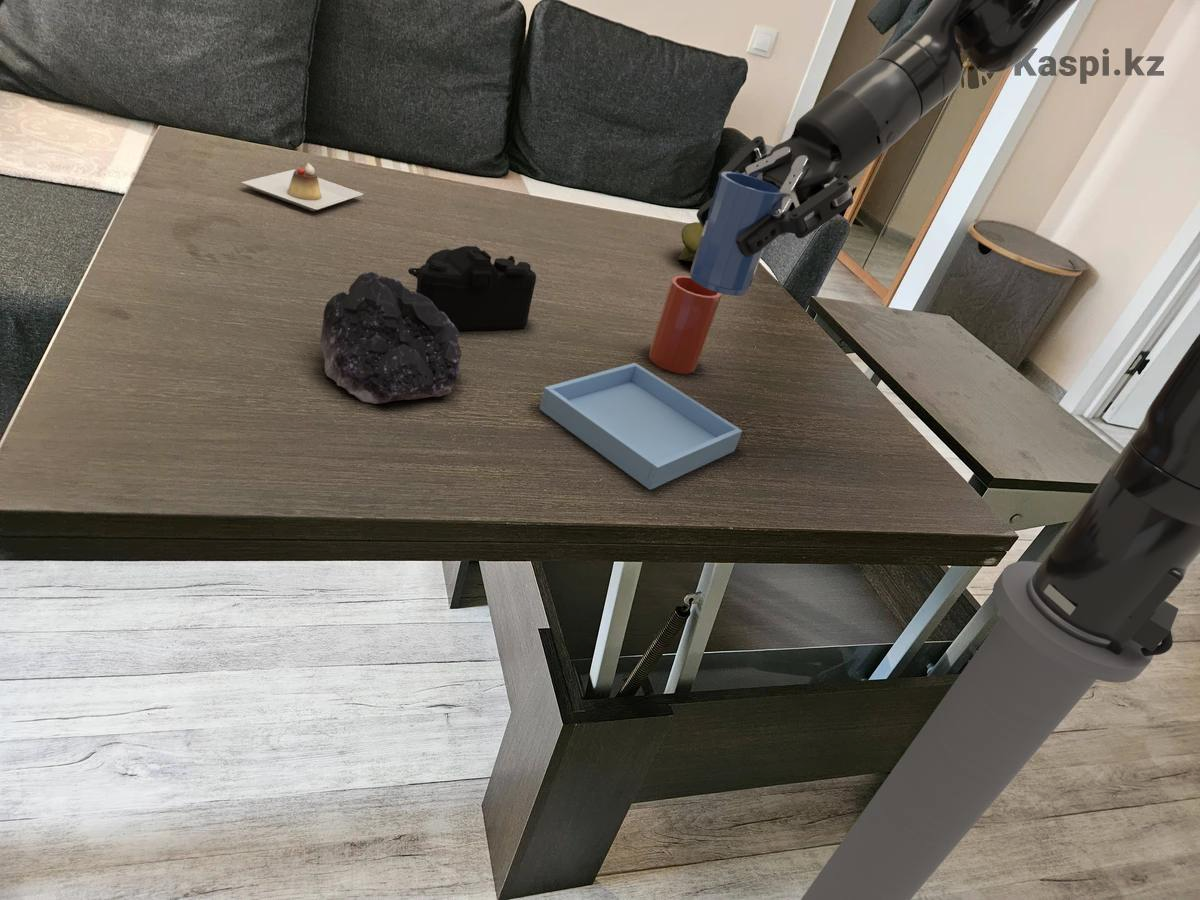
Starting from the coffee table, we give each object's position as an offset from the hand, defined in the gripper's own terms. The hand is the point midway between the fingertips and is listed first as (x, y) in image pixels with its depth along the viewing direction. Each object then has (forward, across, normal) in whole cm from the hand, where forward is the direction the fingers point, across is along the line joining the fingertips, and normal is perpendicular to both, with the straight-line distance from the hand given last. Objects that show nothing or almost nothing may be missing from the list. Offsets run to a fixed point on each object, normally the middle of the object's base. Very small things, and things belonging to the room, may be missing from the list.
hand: (720, 235), depth 75 cm
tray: (+17, +3, +11) cm, 21 cm away
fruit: (-11, -44, +39) cm, 60 cm away
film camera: (+24, -24, +4) cm, 34 cm away
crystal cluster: (+33, -10, -5) cm, 35 cm away
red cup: (+8, -11, +20) cm, 24 cm away
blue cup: (+2, 0, +5) cm, 5 cm away
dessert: (+32, -61, -4) cm, 69 cm away
